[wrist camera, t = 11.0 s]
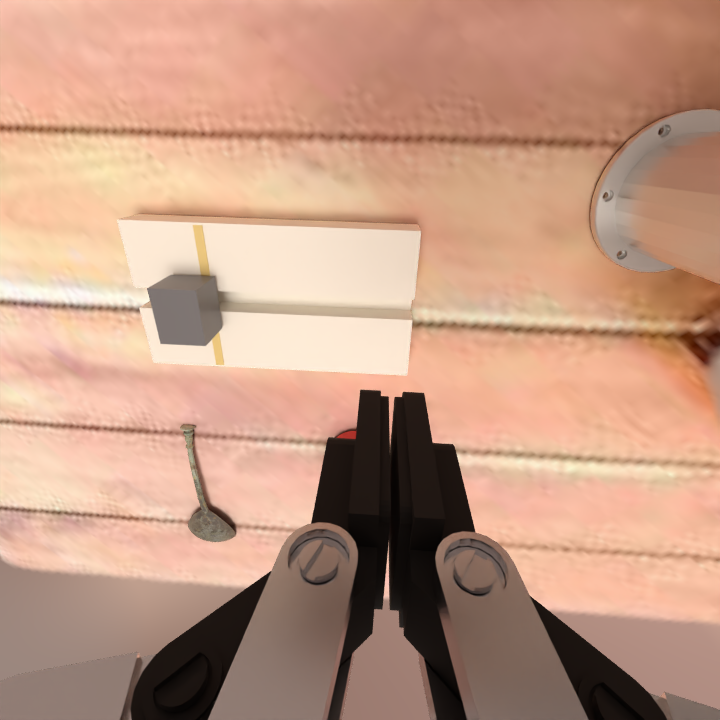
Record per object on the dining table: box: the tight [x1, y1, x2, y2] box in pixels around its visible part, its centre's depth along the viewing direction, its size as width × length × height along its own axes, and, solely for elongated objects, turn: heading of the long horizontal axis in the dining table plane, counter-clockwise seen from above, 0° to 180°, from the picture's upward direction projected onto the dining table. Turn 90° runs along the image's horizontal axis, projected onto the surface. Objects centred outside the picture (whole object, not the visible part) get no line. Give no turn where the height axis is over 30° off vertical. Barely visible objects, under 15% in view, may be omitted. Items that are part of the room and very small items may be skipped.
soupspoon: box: [180, 425, 236, 542], centre depth 53 cm, size 22×3×7 cm
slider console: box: [117, 214, 421, 375], centre depth 38 cm, size 26×14×4 cm, turn 88°
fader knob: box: [147, 275, 223, 346], centre depth 35 cm, size 4×5×6 cm
